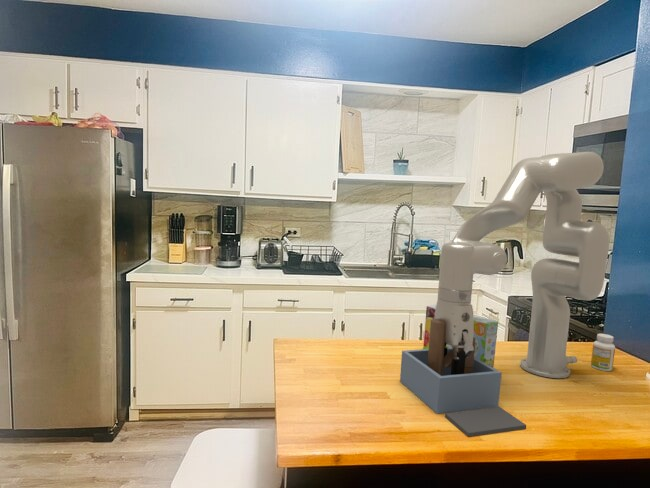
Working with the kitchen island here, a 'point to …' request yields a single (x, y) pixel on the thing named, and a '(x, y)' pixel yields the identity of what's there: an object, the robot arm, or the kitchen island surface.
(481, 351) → the snack box
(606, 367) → the supplement bottle
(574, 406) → the kitchen island surface
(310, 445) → the kitchen island surface
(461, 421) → the place mat
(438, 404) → the box
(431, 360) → the brown piece
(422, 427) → the kitchen island surface
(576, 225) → the robot arm
